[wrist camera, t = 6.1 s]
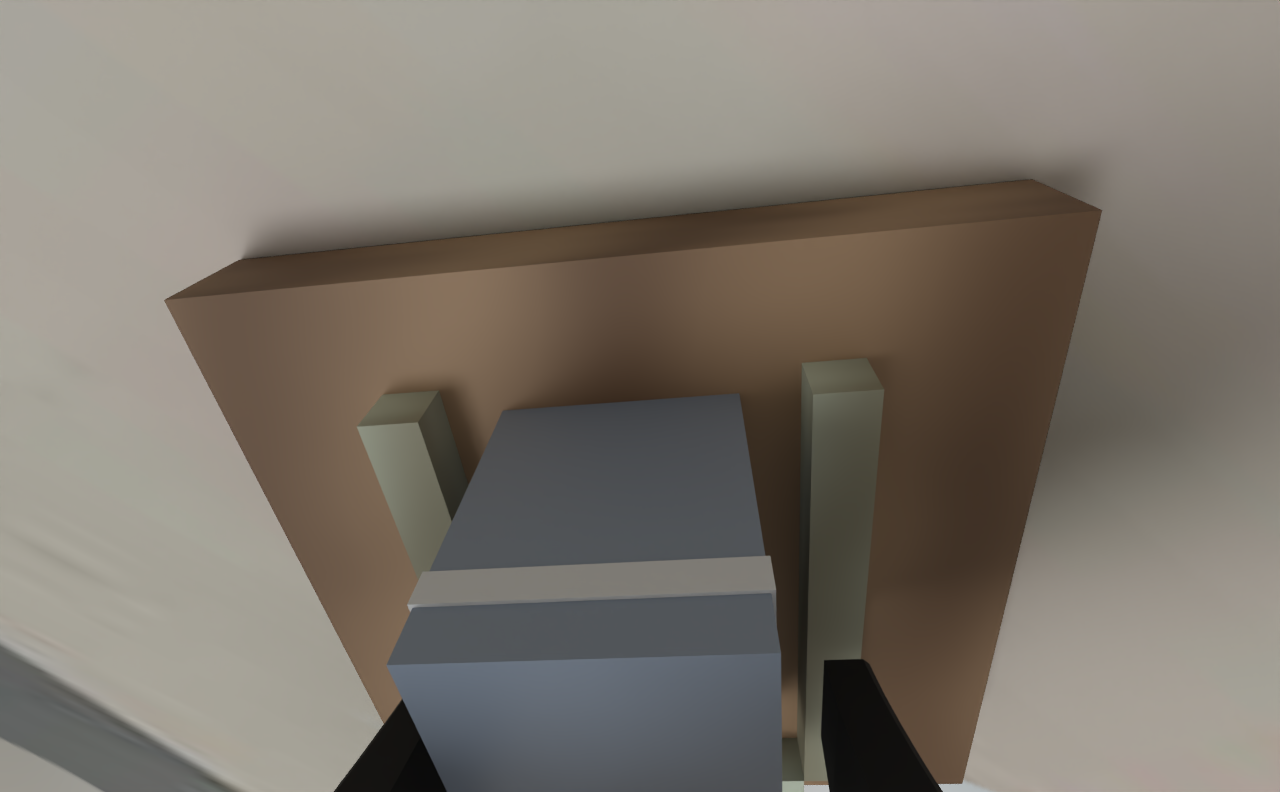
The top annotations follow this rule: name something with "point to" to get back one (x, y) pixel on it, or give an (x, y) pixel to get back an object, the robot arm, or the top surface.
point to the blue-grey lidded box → (601, 609)
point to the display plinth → (687, 367)
